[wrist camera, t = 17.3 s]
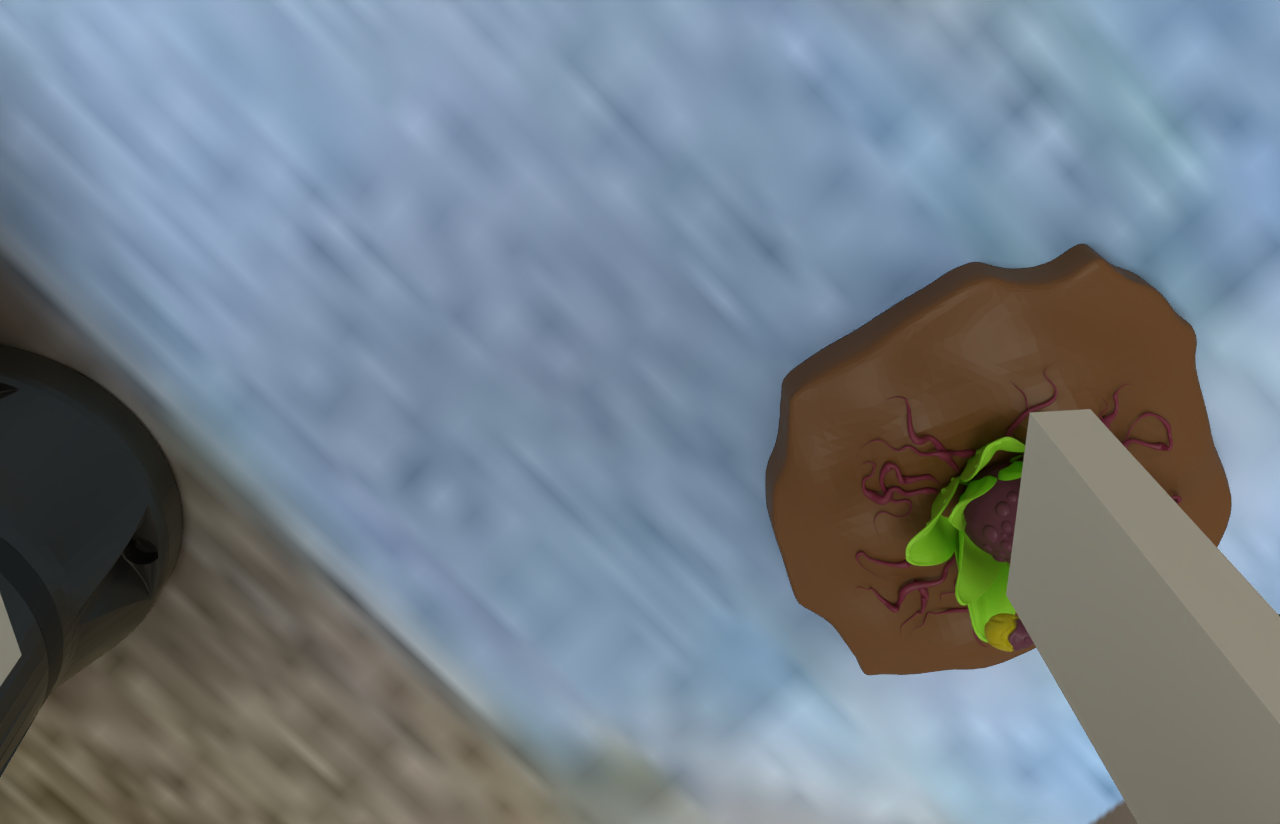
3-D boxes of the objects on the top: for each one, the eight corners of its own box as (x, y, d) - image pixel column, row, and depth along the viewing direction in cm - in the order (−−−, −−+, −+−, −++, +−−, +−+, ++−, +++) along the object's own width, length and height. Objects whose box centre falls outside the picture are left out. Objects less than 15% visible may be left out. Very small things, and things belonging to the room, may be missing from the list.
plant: (698, 366, 49) (730, 501, 39) (1147, 187, 46) (1306, 282, 36) (842, 698, 57) (899, 880, 47) (1227, 562, 55) (1373, 724, 45)
